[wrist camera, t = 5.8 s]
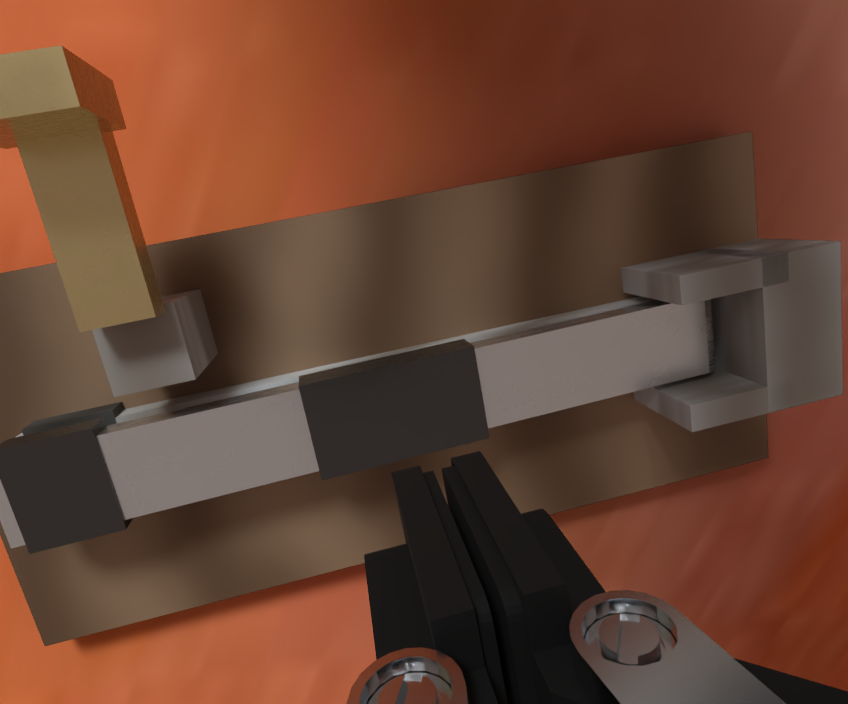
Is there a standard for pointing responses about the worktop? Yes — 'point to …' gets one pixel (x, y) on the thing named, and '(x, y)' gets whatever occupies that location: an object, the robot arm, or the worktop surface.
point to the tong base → (413, 329)
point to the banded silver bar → (338, 420)
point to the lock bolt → (79, 182)
